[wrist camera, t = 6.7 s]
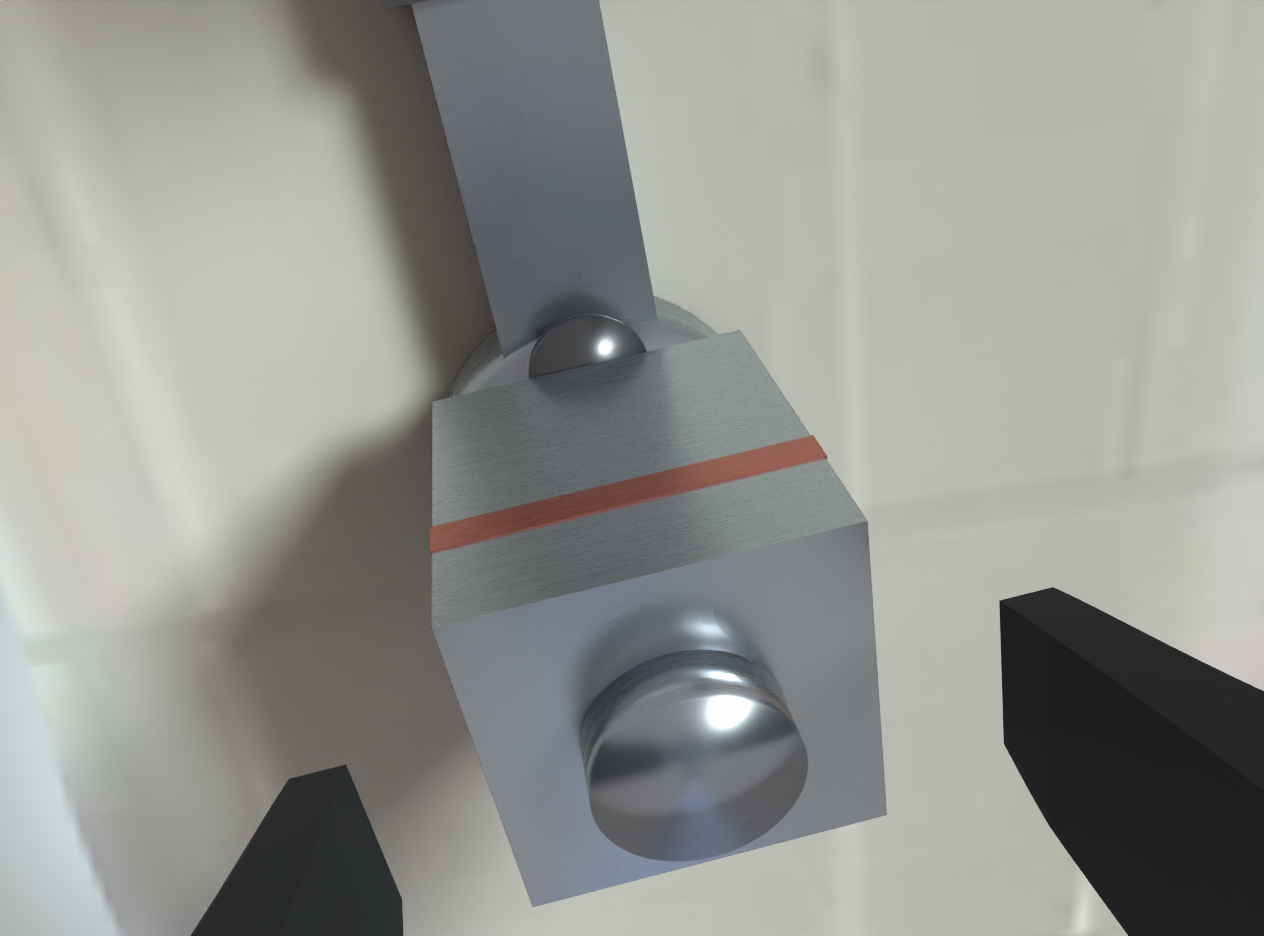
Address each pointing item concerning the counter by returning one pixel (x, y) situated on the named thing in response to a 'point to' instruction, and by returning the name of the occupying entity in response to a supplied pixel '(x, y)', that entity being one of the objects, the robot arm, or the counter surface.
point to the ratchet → (544, 187)
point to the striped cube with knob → (653, 615)
